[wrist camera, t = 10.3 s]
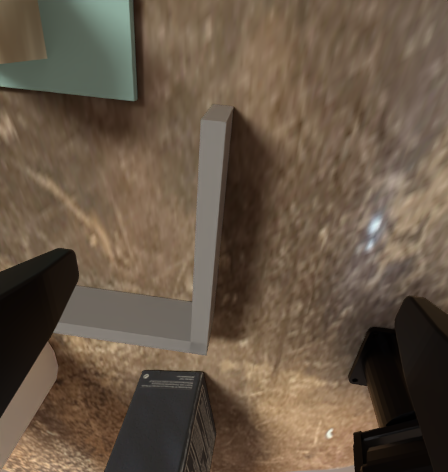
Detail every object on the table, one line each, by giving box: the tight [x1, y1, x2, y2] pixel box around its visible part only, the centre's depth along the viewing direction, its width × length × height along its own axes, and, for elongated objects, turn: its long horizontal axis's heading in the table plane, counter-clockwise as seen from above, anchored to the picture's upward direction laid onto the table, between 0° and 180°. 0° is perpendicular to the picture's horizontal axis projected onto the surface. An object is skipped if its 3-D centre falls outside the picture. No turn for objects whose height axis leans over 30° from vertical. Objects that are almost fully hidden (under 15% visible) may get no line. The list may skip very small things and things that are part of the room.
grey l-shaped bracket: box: [53, 104, 234, 355], centre depth 22 cm, size 16×25×4 cm, turn 85°
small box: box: [104, 370, 216, 472], centre depth 30 cm, size 11×6×10 cm, turn 6°
